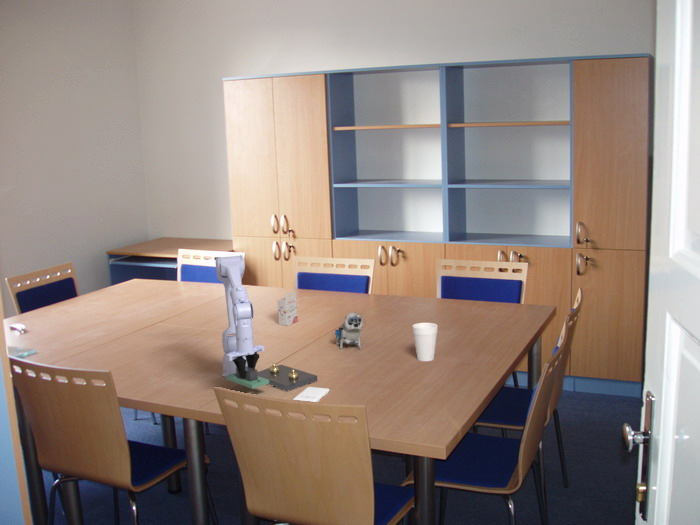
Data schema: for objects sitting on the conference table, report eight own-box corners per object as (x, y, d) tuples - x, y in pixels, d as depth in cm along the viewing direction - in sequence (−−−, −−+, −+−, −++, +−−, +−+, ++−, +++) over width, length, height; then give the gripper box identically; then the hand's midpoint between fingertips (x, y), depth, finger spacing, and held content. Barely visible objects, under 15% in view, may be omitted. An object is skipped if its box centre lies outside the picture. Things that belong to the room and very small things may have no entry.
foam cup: (410, 361, 281) (409, 328, 278) (417, 354, 289) (416, 321, 287) (434, 363, 277) (433, 329, 275) (440, 356, 286) (440, 323, 283)
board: (226, 379, 256) (225, 366, 255) (242, 374, 260) (241, 361, 260) (252, 388, 245) (251, 375, 244) (269, 383, 250) (268, 370, 249)
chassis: (251, 379, 266) (250, 365, 266) (281, 369, 276) (280, 356, 275) (286, 391, 252) (286, 377, 252) (317, 381, 262) (316, 367, 261)
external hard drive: (329, 393, 251) (314, 406, 240) (307, 391, 254) (292, 403, 243) (329, 388, 251) (314, 401, 239) (307, 386, 254) (291, 398, 242)
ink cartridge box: (289, 320, 349) (288, 289, 346) (298, 321, 346) (296, 290, 343) (278, 324, 342) (276, 293, 339) (286, 326, 339) (285, 294, 336)
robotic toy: (340, 353, 293) (339, 317, 291) (332, 342, 310) (331, 307, 307) (372, 350, 296) (370, 314, 293) (362, 339, 313) (361, 304, 310)
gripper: (233, 344, 242) (236, 384, 245) (268, 334, 252) (270, 373, 254) (221, 340, 247) (224, 379, 250) (256, 331, 257) (258, 368, 259)
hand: (246, 376), depth 252 cm, fingers closed on board, 3 cm apart
